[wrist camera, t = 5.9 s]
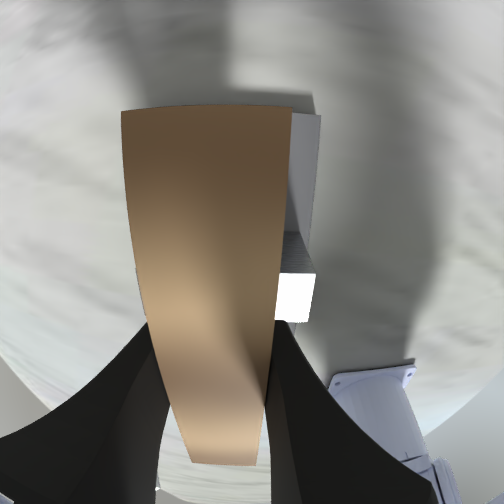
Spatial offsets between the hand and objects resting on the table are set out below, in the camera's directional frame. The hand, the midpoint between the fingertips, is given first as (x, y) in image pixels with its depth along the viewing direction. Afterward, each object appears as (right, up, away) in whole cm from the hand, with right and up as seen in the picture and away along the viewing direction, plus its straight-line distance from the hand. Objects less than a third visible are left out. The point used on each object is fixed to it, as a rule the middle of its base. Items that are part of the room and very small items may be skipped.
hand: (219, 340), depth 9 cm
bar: (0, +1, +2) cm, 2 cm away
